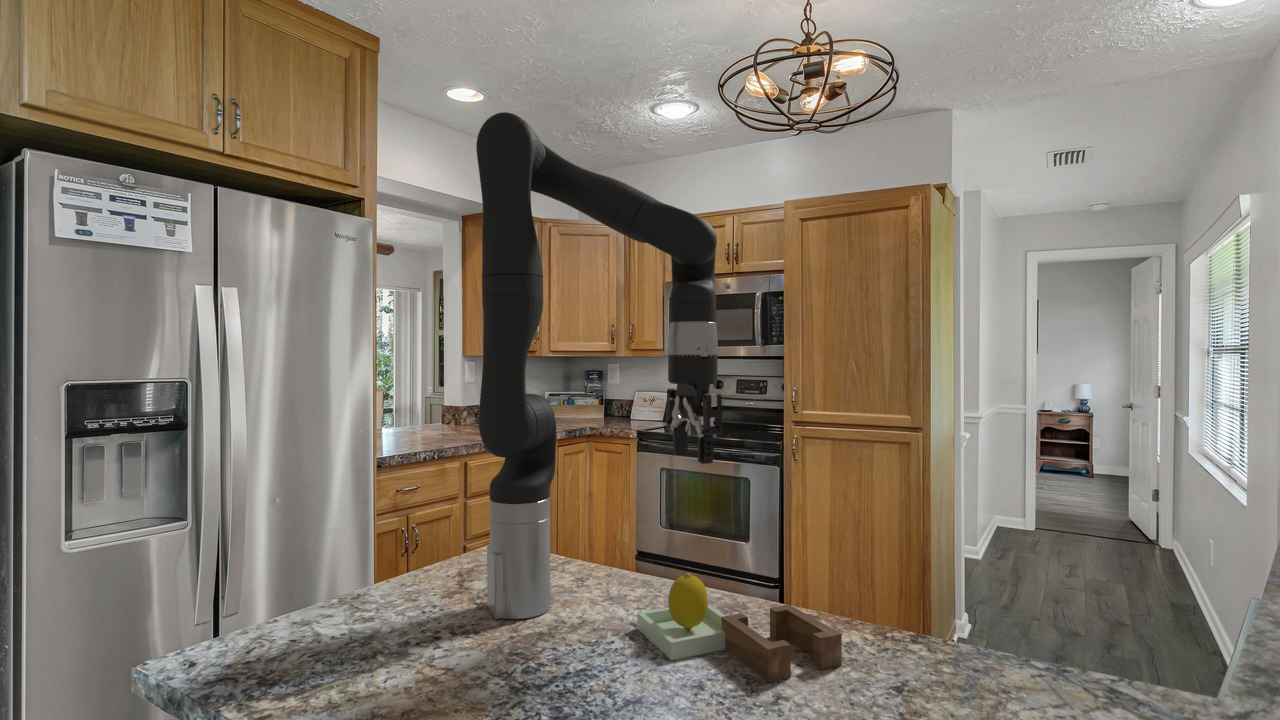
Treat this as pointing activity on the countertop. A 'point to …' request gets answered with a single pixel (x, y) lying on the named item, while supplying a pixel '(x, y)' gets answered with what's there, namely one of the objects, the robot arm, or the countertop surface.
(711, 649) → the dish
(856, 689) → the countertop surface
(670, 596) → the lemon
